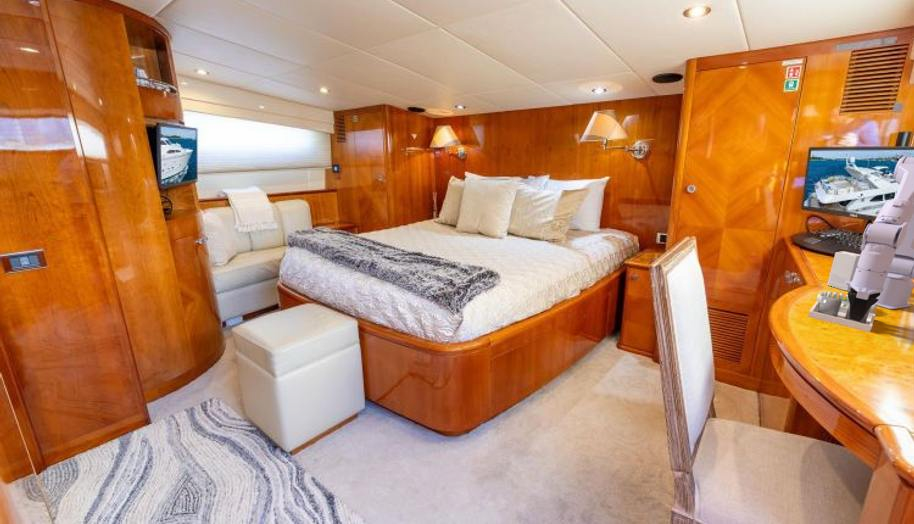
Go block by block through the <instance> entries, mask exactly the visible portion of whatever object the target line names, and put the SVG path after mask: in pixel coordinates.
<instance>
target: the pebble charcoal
mask: <svg viewBox="0 0 914 524" xmlns="http://www.w3.org/2000/svg"><path fill="white" fill-rule="evenodd" d="M870 309H871V308H869V310H868V311H867V313H866V314H865V316H864V317H863V319H862V320H861V321H856V320H851V319H850V318H849V311H850V304H849V307H848V310H847V313H846V316H845V319H847V320H851V321H855V322H859V323H863V324H865V323H866V320H867V318H868V315H869V312H870Z"/></svg>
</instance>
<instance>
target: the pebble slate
mask: <svg viewBox="0 0 914 524" xmlns="http://www.w3.org/2000/svg"><path fill="white" fill-rule="evenodd" d="M841 303H842V301H840V300H838V298H836V299H835V298H832V297H831V298H830V297H822V300H821V303H820V306H819V309H818V313H822V314H826V315H830V316H834V317H837V315H838V312H839V309H840V306H841Z"/></svg>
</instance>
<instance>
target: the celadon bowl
mask: <svg viewBox="0 0 914 524" xmlns="http://www.w3.org/2000/svg"><path fill="white" fill-rule="evenodd" d="M838 294H839V295H838ZM845 295H846V296H845ZM822 297H830V298H835V299H838V300H840V301H842V303H841V307H846V308H848V307H849V304H850V303H849V299H848V296H847V294H845V293H843V292H840V293H839V292H837V291H833V292H832V291H823V292H822V291H820V292H818V294H817V297H816V302H817V301H819V302H821V300H822ZM844 297H845V298H844ZM877 307H878V305H876V304H874V305H872V306H871V307H870V308H871V309H870V312H869V313H872V314H874V313H875V312H876V309H877Z"/></svg>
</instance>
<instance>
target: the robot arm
mask: <svg viewBox="0 0 914 524" xmlns="http://www.w3.org/2000/svg"><path fill="white" fill-rule="evenodd" d="M893 178H894V180H895V182H896V183H897V184H898V188H897V190H896V193H895V195H894V198H893V199H892V200H888V201H886V202H885V203H884V204H883V206H882V208H881V209H880V210H879V213H878V214H877V215H876V218H875V219H874V221H873V223H868V224H867V226H866V228H865V229H864V232H863V234H862V241H861V242H862V243H861V246H860V251H861V253H860V254H859V255H860V258H859V261H858V264H857V268H856V271H855V274H854V277H853V280H852V282H851V281H846V282H845V284H846V285H850V286H851V287H852V288H851V289H850V290H851V291H847V293H846V295H847V296H848V299H849V303H850V311H849V318H850V319H851V320H856V321H861V320H862V319H863V317H864V316H865V314H866V313H867V311H868V310H869V308H870V307H871V306H872V305H874V304H876V305H877V307H882V308H885V309H888V310H895V309H902V308H903V309H904V308H908V307H911V306H912V304H909V300H910V298H911V295H912V292H913V289H914V280H913V279H914V156H906V155H905V156H902V157H900V158H899V160H898V161H897V163H896V164H895V168H894V171H893Z"/></svg>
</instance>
